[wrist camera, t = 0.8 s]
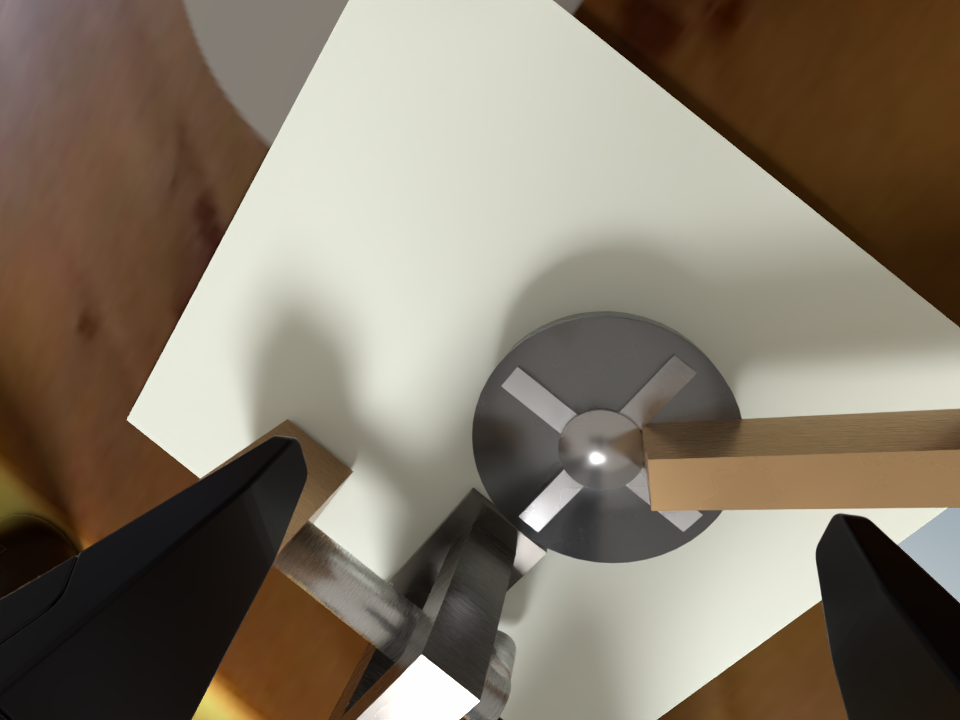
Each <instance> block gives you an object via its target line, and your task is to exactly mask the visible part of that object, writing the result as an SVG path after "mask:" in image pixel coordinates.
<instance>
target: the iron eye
mask: <svg viewBox="0 0 960 720" xmlns="http://www.w3.org/2000/svg"><path fill="white" fill-rule="evenodd" d="M546 553H547V548H546V547H544V546H542V545H540V544H538V543H537V542H535V541H533V540H532V539H530V538H529V537H527V536H526V535H525V534H523V533H522V532H520V531H519V530H518V529H517V528H516V527H515V526H514V525H512V524H511V523H510V522H509V521H508V520H507V519H506V518H505V517H504V515H503V514H502V513H501V512H500V511H499V510H498V509H497V507H496V506H495V504H493V503H492V502H491V501H490V500H488V499H487V498H486V497H485V496H483V495H482V494H481V493H480V492H478V491H477V490H476V489H475V488H472V489H471V490H470V491H469V492H468V493H467V495H466V496H465V497H464V498H463V499H462V500H461V501H460V502H459V504H458V505H457V506H456V507H455V508H454V509H453V510H452V511H451V513H450V514H449V515H448V516H447V517H446V518H445V519H444V520H443V521H442V523H441V524H440V525H439V526H438V527H437V528H436V529H435V530H434V532H433V533H432V534H431V535H430V536H429V537H428V538H427V539H426V540H425V542H424V543H423V544H422V545H421V546H420V547H419V548H418V549H417V551H416V552H415V553H414V554H413V555H412V556H411V557H410V558H409V559H408V561H407V562H406V563H405V564H404V565H403V566H402V567H401V568H400V570H399V571H398V572H397V573H396V574H395V575H394V576H393V577H392V579H391V580H390V581H389V582H388V584H389V585H391V586H392V587H393V588H394V589H396V590H397V591H398V592H399V593H401V594H402V595H403V596H404V597H406V598H407V599H408V600H410V601H411V602H412V603H413V604H415V605H416V606H417V607H418V608H420V609H421V610H422V613H421V615H420V617H419V619H418V622H417V624H416V626H415V629H414V631H413V633H412V635H411V638H410V640H409V642H408V645H407V647H406V649H405V651H404V654H403V655H402V656H401V657H400V658H399V659H398V660H397V661H396V662H394V661H392V660H391V659H390V658H389V657H387V656H386V655H385V654H384V653H382V652H381V651H380V650H379V649H377V648H376V647H375V646H374V645H372V644H371V643H370V642H369V644H368V646H367V648H366V649H365V651H364V653H363V655H362V657H361V659H360V661H359V663H358V665H357V666H356V668H355V670H354V672H353V674H352V676H351V678H350V680H349V682H348V684H347V685H346V687H345V689H344V691H343V693H342V695H341V697H340V699H339V701H338V702H337V704H336V706H335V708H334V710H333V712H332V714H331V716H330V718H329V720H459V719H460V718H461V717H462V716H464V715H465V714H466V713H467V712H468V711H469V710H470V709H471V708H473V707H474V706H475V705H476V704H477V703H478V702H479V701H480V699H481V695H482V691H483V687H484V683H485V678H486V674H487V670H488V666H489V662H490V658H491V654H492V649H493V645H494V641H495V637H496V633H497V629H498V625H499V621H500V616H501V612H502V608H503V604H504V600H505V596H506V592H507V591H508V590H509V589H510V588H511V587H512V586H513V585H514V584H515V583H516V582H517V581H519V580H520V579H521V578H522V577H523V576H524V575H525V574H526V573H527V572H528V571H529V570H530V569H531V568H532V567H533V566H534V565H535V564H536V563H537V562H538V561H539V560H540V559H541V558H542V557H543V556H544V555H545V554H546Z"/></svg>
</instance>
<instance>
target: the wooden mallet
mask: <svg viewBox="0 0 960 720" xmlns="http://www.w3.org/2000/svg"><path fill="white" fill-rule="evenodd" d="M276 435H281V436H288V437H295V438H297V439H298V440H299V442H300V444H301V448H302V451H303V455H304V458H305V462H306V466H307V472H308V474H307V480H306V483H305V486H304V488H303V491H302V493H301V496H300V498H299V501H298V503H297V506H296V508H295V511H294V514H293V516H292V519H291V521H290V524H289V526H288V529H287V531H286V534H285V536H284V539H283V541H282V544H281V546H280V549H279V551H278V553H277V556H276V558H275V560H274V562H273V564H272V566H271V568H270V570H269V572H270V571H271V570H272V569H273V568H274V567H276V568H277V569H278V570H279V571H281V572H282V573H283V574H284V575H286V576H287V577H288V578H289V579H291V580H292V581H293V582H294V583H296V584H297V585H298V586H299V587H301V588H302V589H303V590H304V591H306V592H307V593H308V594H309V595H311V596H312V597H313V598H315V599H316V600H317V601H318V602H320V603H321V604H322V605H323V606H325V607H326V608H327V609H328V610H330V611H331V612H332V613H333V614H335V615H336V616H337V617H338V618H340V619H341V620H342V621H343V622H345V623H346V624H347V625H348V626H350V627H351V628H352V629H353V630H355V631H356V632H357V633H359V634H360V635H361V636H362V637H364V638H365V639H366V640H367V641H369V642H370V643H371V644H372V645H374V646H375V647H376V648H377V649H379V650H380V651H381V652H382V653H384V654H385V655H386V656H387V657H389V658H390V659H391V660H392V661H394V662H396V661H397V660H398V659H399V658H400V657H401V656H402V655H403V654H404V651H405V649H406V647H407V645H408V642H409V640H410V638H411V635H412V633H413V631H414V629H415V626H416V624H417V622H418V619H419V617H420V615H421V613H422V610H421V609H420V608H418V607H417V606H416V605H415V604H413V603H412V602H411V601H410V600H408V599H407V598H406V597H404V596H403V595H402V594H401V593H399V592H398V591H397V590H396V589H394V588H393V587H392V586H391V585H389V584H388V583H387V582H386V581H384V580H383V579H382V578H381V577H379V576H378V575H377V574H376V573H374V572H373V571H372V570H371V569H369V568H368V567H367V566H366V565H364V564H363V563H362V562H361V561H359V560H358V559H357V558H356V557H354V556H353V555H352V554H350V553H349V552H348V551H347V550H345V549H344V548H343V547H342V546H340V545H339V544H338V543H337V542H335V541H334V540H333V539H332V538H330V537H329V536H328V535H327V534H325V533H324V532H323V531H322V530H320V529H319V528H318V527H317V526H315V525H314V524H313V523H314V522H315V521H316V520H317V518H318V517H319V516H320V514H321V513H322V512H323V510H324V509H325V508H326V506H327V505H328V504H329V503H330V501H331V500H332V499H333V497H334V496H335V495H336V493H337V492H338V491H339V490H340V488H341V487H342V486H343V484H344V483H345V482H346V480H347V479H348V478H349V477H350V475H351V474H352V473H353V471H352V470H351V469H350V468H349V467H347V466H346V465H345V464H343V463H342V462H341V461H340V460H338V459H337V458H336V457H335V456H333V455H332V454H331V453H330V452H328V451H327V450H326V449H325V448H323V447H322V446H321V445H320V444H318V443H317V442H316V441H315V440H313V439H312V438H311V437H310V436H308V435H307V434H306V433H305V432H303V431H302V430H301V429H300V428H298V427H297V426H296V425H295V424H293V423H292V422H291V421H290V420H288V419H287V420H285V421H284V422H282V423H281V424H279V425H278V426H276V427H275V428H273V429H272V430H271V431H269V432H268V433H266V434H265V435H263V436H262V437H260V438H259V439H257V440H256V441H254V442H253V443H252V444H250V445H249V446H247V447H246V448H244V449H243V450H241V451H240V452H238V453H237V454H235V455H234V456H232V457H231V458H230V459H228V460H227V461H225V462H224V463H222V464H221V465H219V466H218V467H216V468H215V469H213V470H212V471H210V472H209V473H208V474H206V475H205V476H203V477H202V478H200V479H199V481H200V480H201V479H203V478H205V477H206V476H208V475H210V474H211V473H213V472H215V471H216V470H218V469H220V468H221V467H223V466H225V465H226V464H228V463H230V462H231V461H233V460H235V459H236V458H238V457H240V456H241V455H243V454H245V453H246V452H248V451H250V450H251V449H253V448H255V447H256V446H258V445H260V444H261V443H263V442H265V441H266V440H268V439H270V438H271V437H273V436H276ZM269 572H268V574H269ZM268 574H267V575H268ZM515 656H516V645H515V643H514V641H513V640H512V638H511V637H510V636H509V635H507V634H506V633H504V632H502V631H500V630H497V633H496V637H495V641H494V645H493V649H492V654H491V658H490V662H489V666H488V670H487V674H486V678H485V683H484V687H483V691H482V695H481V699H480V701H479V702H478V703H477V704H476V705H475V706H474V707H473V708H471V709H470V710H469V711H468V712H467V713H466V714H465V715H464V716H463V717H464V718H465V719H467V720H497V719H498V718H499V716H500V715H501V713H502V711H503V710H504V708H505V706H506V703H507V701H508V698H509V695H510V691H511V677H512V672H513V666H514V661H515Z"/></svg>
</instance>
